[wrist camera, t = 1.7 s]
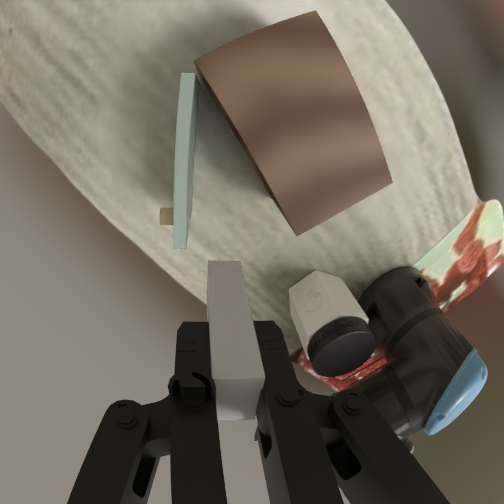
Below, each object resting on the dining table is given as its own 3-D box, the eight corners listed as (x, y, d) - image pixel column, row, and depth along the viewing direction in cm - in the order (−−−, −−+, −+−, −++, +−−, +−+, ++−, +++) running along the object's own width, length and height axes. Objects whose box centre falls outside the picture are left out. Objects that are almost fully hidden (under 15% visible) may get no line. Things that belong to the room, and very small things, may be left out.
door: (174, 84, 24) (159, 73, 16) (200, 84, 24) (195, 73, 16) (168, 210, 30) (155, 248, 23) (191, 211, 31) (185, 249, 23)
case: (345, 159, 31) (392, 182, 22) (272, 199, 32) (296, 236, 23) (283, 37, 23) (315, 10, 14) (199, 77, 24) (194, 60, 16)
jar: (327, 258, 37) (367, 316, 27) (351, 292, 41) (387, 348, 30) (274, 296, 39) (296, 362, 28) (303, 325, 42) (327, 386, 32)
